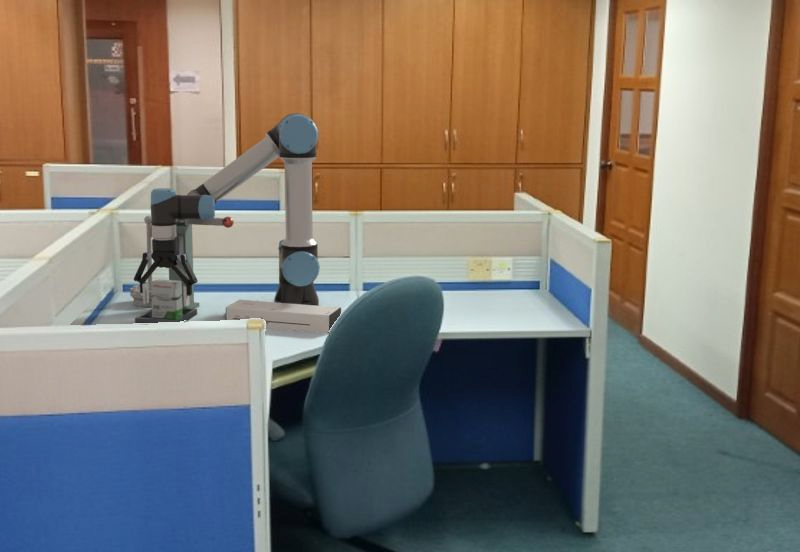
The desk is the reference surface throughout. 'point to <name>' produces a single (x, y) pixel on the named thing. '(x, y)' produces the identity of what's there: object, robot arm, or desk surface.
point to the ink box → (166, 299)
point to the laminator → (285, 315)
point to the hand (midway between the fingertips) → (166, 304)
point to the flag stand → (135, 289)
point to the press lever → (207, 222)
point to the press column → (187, 248)
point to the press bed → (148, 318)
